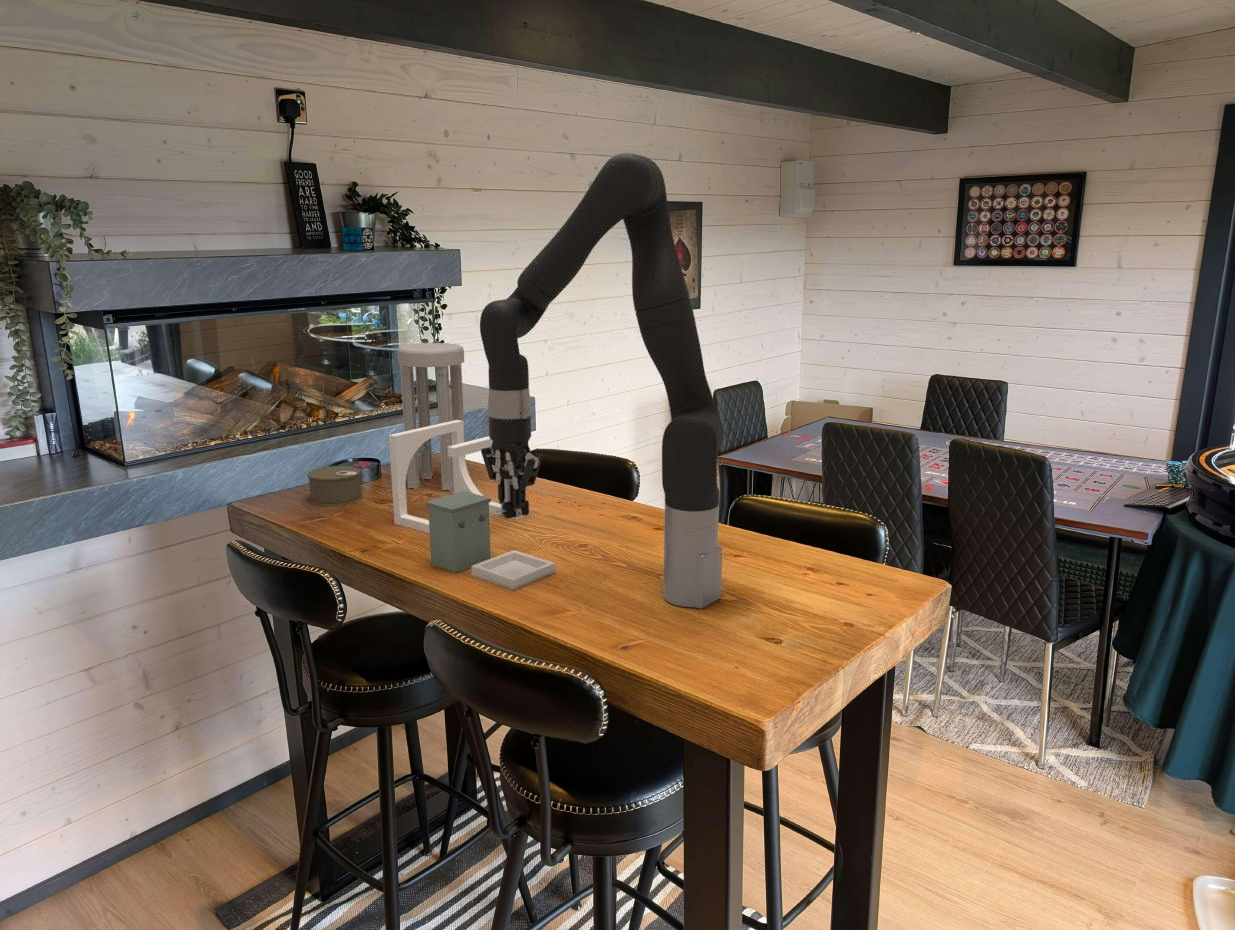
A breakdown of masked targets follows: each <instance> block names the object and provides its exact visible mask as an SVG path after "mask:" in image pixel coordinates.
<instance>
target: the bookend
mask: <svg viewBox="0 0 1235 930" xmlns="http://www.w3.org/2000/svg"><path fill="white" fill-rule="evenodd" d="M450 432H451V438H452V446H448V456H449V457H452V460H453V481H454V489H453V494H455V493H459V492H462V491H466V492H470V493H474V494H478V495H481V496H484V495H483V493H481V491H479V489H478V488H477V487H476V485H475V484H474V482H473V480H472V478H471V476H470V474H469V471H468V467H467V464H466V463H467V462H466V455H470V454H474V453H478V452H481V449H483V448H487V447H491V445H492V442H493V440H491V439H490V437H489V435H488V436H485V437H480V438H477V439H472V440H469V441H465V442H464V439H465V427H464V428H463V421H461V420H454V421H452V420H451V421H450V422H445V423H441V424H439V423H437V424H432V425H430V426H427V427H423V428H419V427H418V428H417V429H414V430H409V431H405V432H404V431H402V432H398V433H397V432H396V433H392V434H388V443H389V446H388V447H389V457H390V461H389V462H390V475H391V476H390V477H391V489H392V490H391V491H392V504H393V507H392V508H393V519H394V524H395V525H397V526H401V525H402V527H406V528H408V527H410V528H409V529H412V528H413V529H412V530H415V529H416V530H415V531H420V532H422V531H423V533H426V534H429V535H430V532H429V519H425V518H422V517H418V516H415V515H414V516H413V515H411V514H408V506H407V505H408V504H407V503H408V502H407V492H406V491H407V490H406V481H407V470H408V466H409V464H410V461H411V459H412V457H413V455H414V454H415V452H416V451H417V449H418V448H419V447H420V446H421V445H422V444H423V443H424V442H425V441H427V440H428V439H430V438H431V439H432V438H434V437H437V436H440V435H442V434H446V433H450ZM499 510H501V504H500V503H499V502H495V501H492V500H491V502H490V503H489V514H492V515H495V516H498V515H501V514H502V512H500V511H499ZM495 511H498V512H499V513H497V512H495ZM524 516H525V515H522V516H519V517H513V518H511V519H513V520H521V519H523V518H524Z"/></svg>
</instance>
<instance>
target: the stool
mask: <svg viewBox="0 0 1235 930" xmlns="http://www.w3.org/2000/svg"><path fill="white" fill-rule="evenodd" d="M396 350H397V363H398V364H399V367H400V382H401V383H400V386H401V400H402V416H403V417H402V418H403V432H405V431H409V430H414V429H418V428H423V427H427V426H431V415H430V414H431V413H430V412H431V411H430V394H429V374H428V373H429V372H428V368H435V370H436V371H435V372H436V390H437V391H436V392H437V413H438V415H437V416H438V424H441V423H445V422H450V421H454V420H461V421H463V428H464V429H465V420H464V417H465V416H464V402H463V401H464V399H463V397H464V396H463V395H464V393H463V375H462V374H463V373H462V371H463V370H462V364H464V363H465V349H464V346H462V345H460V344H456V343H448V342H444V343H443V342H424V343H423V342H422V343H421V342H419V343H412V344H404V345H402V346H398V347H397V349H396ZM414 368H415V369H414ZM414 371H415V375H414ZM414 378H415V379H414ZM415 387H416V392H415ZM415 393H416V397H415ZM416 402H417V403H416ZM416 405H417V410H416ZM416 411H417V413H416ZM417 420H418V421H417ZM417 422H418V423H417ZM417 424H418V428H417ZM465 440H466V439H465V438H464V442H466V441H465ZM448 446H452V438H451V432H450V433H446V434H442V435H439V450H440V470H441V471H440V472H441V490H449V491H448V492H452V491H454V489H453V488H454V481H453V460H452V457H449V456H448ZM419 456H420V465H419ZM433 470H434V469H433V450H432V438H430V439H428V440H427V441H425V442H424V443H423V444H422V445H421V446H420V447H419V448H418V449H417V451H416V452H415V454H414V455H413V457H412V459H411V461H410V464H409V466H408V470H407V474H406V481H407V489H408V488H418V487H419V486H420V487H421V484H420V474H421V479H422V478H431V477H432V476H433V477H434V471H433ZM420 487H419V488H420ZM419 488H418V489H419ZM451 490H452V491H451Z"/></svg>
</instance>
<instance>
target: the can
mask: <svg viewBox="0 0 1235 930" xmlns="http://www.w3.org/2000/svg"><path fill="white" fill-rule="evenodd" d="M361 474H362V473H361V469H360V468H359V467H356V466H351V465H334V466H333V465H332V466H330V465H329V466H323V467H319V468H315V469H313V470H311V471H309V472H308V473H307V477H308V482H309V493H310V502H312V503H313V505H314V504H315V505H314V506H317V505H320V506H319V507H325V506H333V507H342V506H341V505H343V506H347V505H346V504H349V505H352V504H355V503H357V502H356V501H358V500H359V501H360V499H361V500H362V497H363V496H362V483H361ZM359 501H358V502H359ZM354 502H355V503H354ZM312 503H311V504H312ZM351 503H352V504H351Z"/></svg>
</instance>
